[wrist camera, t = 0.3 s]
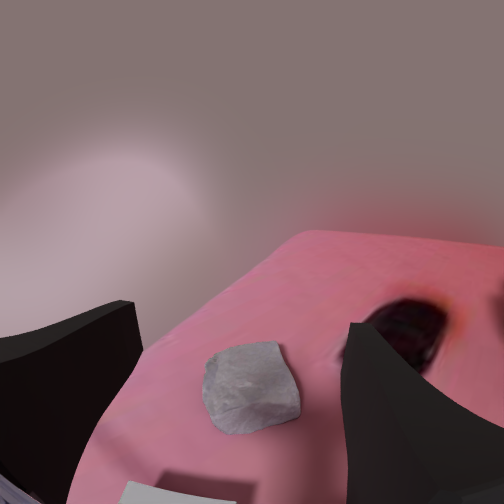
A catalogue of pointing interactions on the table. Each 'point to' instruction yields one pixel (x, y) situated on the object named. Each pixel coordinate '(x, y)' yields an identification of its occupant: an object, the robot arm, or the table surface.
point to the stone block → (249, 388)
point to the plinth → (161, 496)
